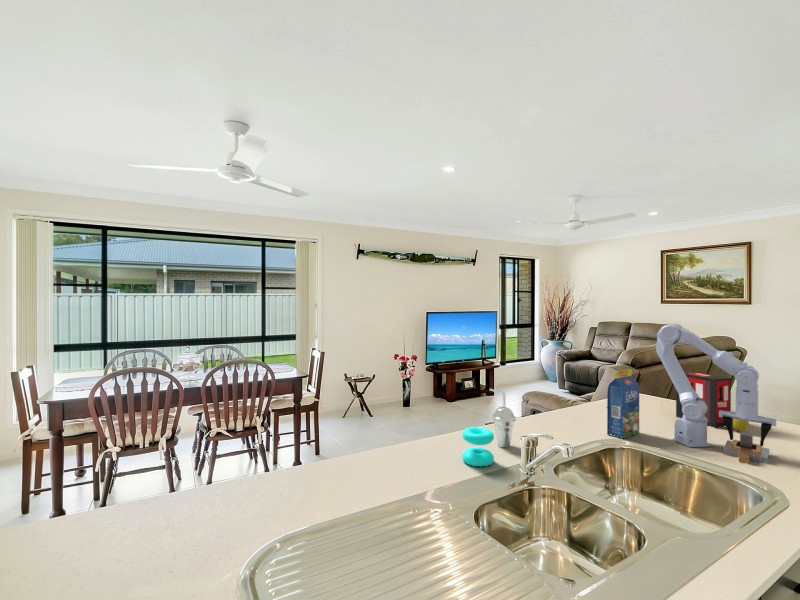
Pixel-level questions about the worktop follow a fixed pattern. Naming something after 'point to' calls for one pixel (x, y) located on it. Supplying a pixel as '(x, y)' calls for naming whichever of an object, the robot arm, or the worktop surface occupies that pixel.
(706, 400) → the cleaning product box
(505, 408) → the cup with straw
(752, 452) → the grey and brown socket
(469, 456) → the donuts
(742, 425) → the lemon
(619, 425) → the blue food package
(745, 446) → the dark grey rectangular block
